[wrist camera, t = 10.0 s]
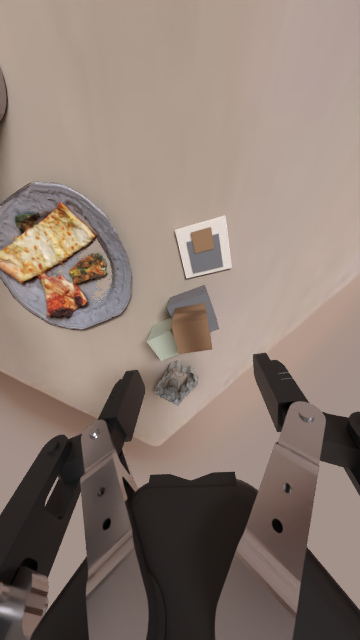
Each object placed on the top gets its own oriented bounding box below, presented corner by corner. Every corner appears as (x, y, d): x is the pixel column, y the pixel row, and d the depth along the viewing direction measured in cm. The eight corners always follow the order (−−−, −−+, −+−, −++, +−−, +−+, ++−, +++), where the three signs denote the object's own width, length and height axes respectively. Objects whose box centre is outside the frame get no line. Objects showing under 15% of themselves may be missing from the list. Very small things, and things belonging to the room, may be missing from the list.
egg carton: (174, 355, 41) (172, 368, 37) (201, 369, 42) (202, 382, 38) (153, 383, 45) (150, 396, 42) (178, 395, 47) (177, 409, 43)
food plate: (57, 337, 40) (46, 346, 37) (-29, 232, 31) (-53, 232, 28) (154, 298, 35) (151, 305, 32) (84, 159, 26) (70, 149, 23)
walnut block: (181, 333, 32) (178, 353, 26) (175, 308, 30) (170, 324, 24) (209, 328, 31) (212, 349, 26) (204, 302, 29) (206, 319, 24)
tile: (186, 277, 32) (186, 279, 31) (175, 229, 29) (174, 229, 28) (231, 267, 31) (232, 268, 30) (225, 215, 27) (225, 215, 26)
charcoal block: (183, 327, 37) (181, 340, 33) (170, 297, 34) (166, 307, 30) (215, 316, 35) (218, 329, 31) (204, 284, 33) (206, 293, 28)
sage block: (165, 343, 39) (161, 361, 34) (153, 325, 37) (146, 341, 32) (185, 334, 38) (184, 351, 32) (173, 315, 36) (170, 330, 30)
